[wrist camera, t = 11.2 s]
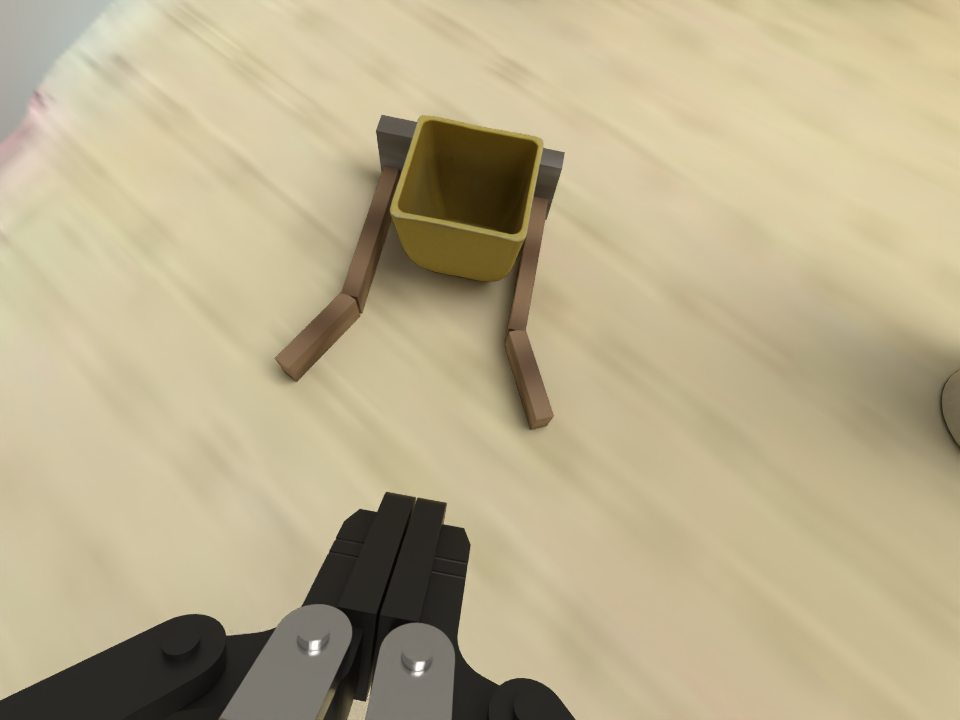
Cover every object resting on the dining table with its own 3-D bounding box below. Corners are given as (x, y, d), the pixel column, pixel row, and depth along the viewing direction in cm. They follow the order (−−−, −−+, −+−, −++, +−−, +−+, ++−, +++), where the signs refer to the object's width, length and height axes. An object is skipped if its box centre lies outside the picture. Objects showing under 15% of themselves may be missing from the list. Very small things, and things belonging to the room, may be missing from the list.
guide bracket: (545, 432, 38) (564, 407, 32) (282, 378, 38) (255, 343, 32) (578, 210, 46) (597, 159, 40) (359, 165, 46) (348, 108, 40)
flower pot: (396, 286, 41) (386, 212, 33) (422, 197, 45) (419, 111, 37) (507, 309, 41) (525, 241, 33) (525, 219, 45) (545, 137, 37)
